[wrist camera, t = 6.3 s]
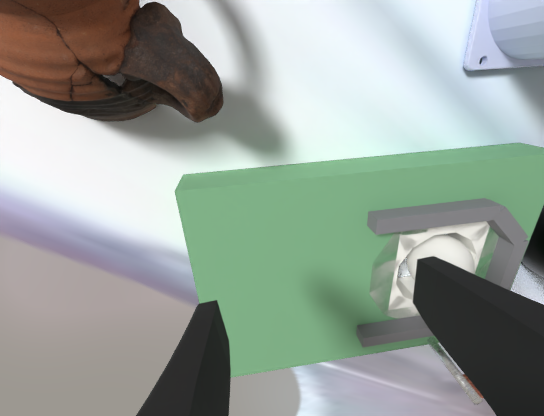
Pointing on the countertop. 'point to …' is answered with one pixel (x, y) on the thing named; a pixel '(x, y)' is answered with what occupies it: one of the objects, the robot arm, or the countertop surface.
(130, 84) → the pottery mug
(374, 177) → the mat
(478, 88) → the countertop surface
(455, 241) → the ball
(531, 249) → the ink bottle
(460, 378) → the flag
